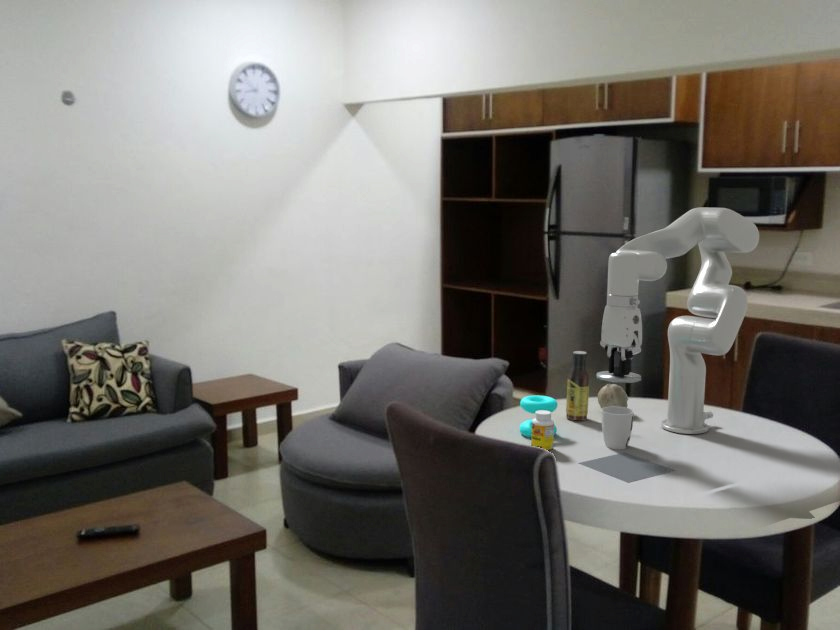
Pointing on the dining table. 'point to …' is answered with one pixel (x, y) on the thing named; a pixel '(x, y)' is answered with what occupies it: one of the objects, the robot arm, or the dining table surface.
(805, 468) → the dining table surface
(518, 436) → the dining table surface
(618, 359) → the lid
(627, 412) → the cup
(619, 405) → the garlic bulb
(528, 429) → the donuts
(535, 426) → the supplement bottle
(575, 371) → the sauce bottle
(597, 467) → the mat
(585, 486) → the dining table surface
